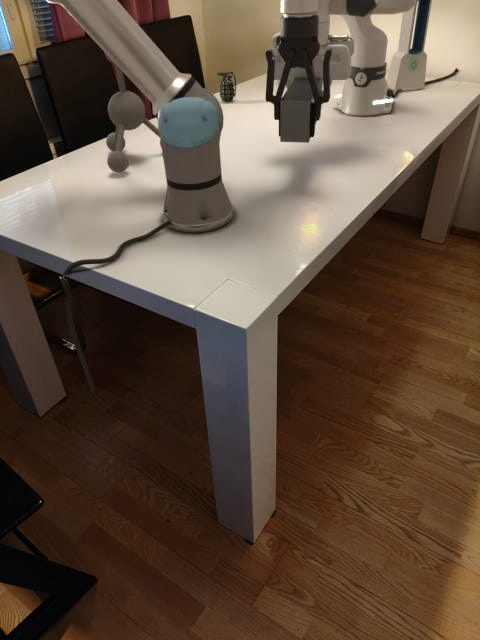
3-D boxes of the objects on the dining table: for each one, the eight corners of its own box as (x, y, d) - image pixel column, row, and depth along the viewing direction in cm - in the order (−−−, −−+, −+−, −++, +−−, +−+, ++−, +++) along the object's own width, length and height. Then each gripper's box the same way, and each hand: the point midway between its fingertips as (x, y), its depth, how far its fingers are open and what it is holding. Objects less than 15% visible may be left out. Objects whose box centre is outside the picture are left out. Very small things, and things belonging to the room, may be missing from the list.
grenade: (217, 103, 183) (215, 73, 177) (221, 99, 187) (219, 70, 181) (234, 103, 181) (233, 73, 175) (238, 99, 186) (236, 70, 180)
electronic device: (394, 92, 183) (407, -4, 164) (384, 88, 188) (396, -5, 170) (424, 88, 185) (440, -6, 166) (413, 84, 191) (428, -8, 172)
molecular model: (192, 164, 133) (178, 39, 115) (111, 178, 128) (83, 49, 109) (169, 139, 151) (154, 28, 132) (98, 152, 145) (72, 36, 127)
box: (308, 142, 106) (310, 100, 101) (280, 141, 108) (280, 100, 102) (321, 109, 126) (323, 72, 121) (297, 109, 128) (298, 72, 122)
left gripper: (351, 10, 96) (341, 130, 110) (255, 13, 100) (258, 128, 114) (348, 15, 90) (339, 141, 104) (247, 18, 94) (251, 139, 109)
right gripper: (356, 32, 114) (350, 96, 122) (270, 34, 118) (270, 95, 126) (354, 37, 109) (349, 102, 117) (265, 38, 113) (265, 101, 122)
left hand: (296, 134), depth 109 cm, fingers closed on box, 6 cm apart
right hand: (307, 98), depth 122 cm, fingers closed on box, 6 cm apart
